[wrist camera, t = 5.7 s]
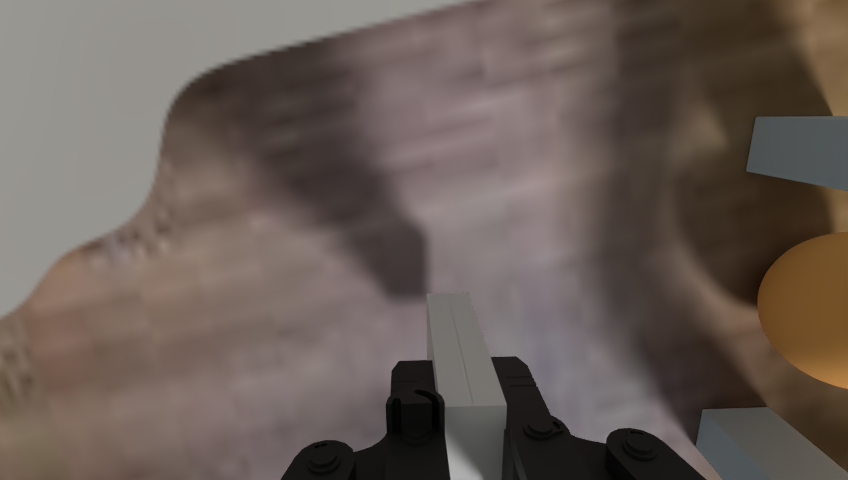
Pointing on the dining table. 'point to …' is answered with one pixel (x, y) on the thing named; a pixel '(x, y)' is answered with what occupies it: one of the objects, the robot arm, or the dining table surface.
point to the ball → (810, 307)
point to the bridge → (761, 427)
